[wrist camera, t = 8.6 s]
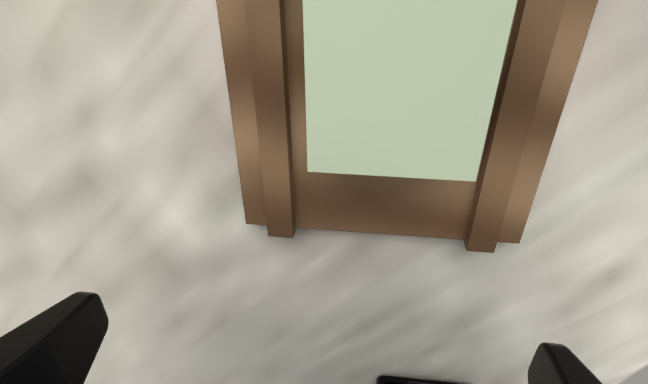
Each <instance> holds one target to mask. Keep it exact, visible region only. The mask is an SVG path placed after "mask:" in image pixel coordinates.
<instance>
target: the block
mask: <svg viewBox="0 0 648 384" xmlns="http://www.w3.org/2000/svg"><path fill="white" fill-rule="evenodd" d="M516 3H517V0H303V29H304V64H305V99H306V133H307V168H308V172H321V173H338V174H355V175H372V176H389V177H406V178H423V179H440V180H457V181H474V182H476V178H477V174H478V170H479V165H480V161H481V156H482V152H483V148H484V143H485V139H486V135H487V130H488V126H489V121H490V117H491V113H492V108H493V104H494V100H495V95H496V91H497V86H498V82H499V78H500V73H501V69H502V65H503V60H504V56H505V52H506V47H507V43H508V38H509V34H510V30H511V25H512V21H513V17H514V12H515V8H516Z"/></svg>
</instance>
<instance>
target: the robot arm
mask: <svg viewBox="0 0 648 384" xmlns="http://www.w3.org/2000/svg"><path fill="white" fill-rule="evenodd" d="M108 323H109V322H108V316H107V314H106V311H105V309H104V306H103V303H102V301H101V298H100V296H99V295H98V294H96V293H90V292H76V293H74V294H72V295H70V296H69V297H67V298H65V299H64V300H62V301H60V302H59V303H57V304H55V305H54V306H52V307H50V308H49V309H47V310H45V311H44V312H42V313H40V314H39V315H37V316H35V317H34V318H32V319H30V320H29V321H27V322H25V323H23V324H22V325H20V326H18V327H17V328H15V329H13V330H12V331H10V332H8V333H7V334H5V335H3V336H2V337H0V384H84V382H85V379H86V377H87V375H88V373H89V370H90V368H91V366H92V363H93V361H94V359H95V357H96V354H97V352H98V350H99V348H100V345H101V343H102V341H103V339H104V336H105V334H106V332H107V329H108ZM528 383H529V384H602V383H601V382H600V381H599V380H598V379H597V377H596V376H595V375H594V374H593V373H592V372H591V371H590V370H589V369H588V368H587V367H586V366H585V365H584V364H583V363H582V362H581V361H580V360H579V359H578V358H577V357H576V356H575V355H574V354H573V353H572V352H571V351H570V350H569V349H568V348H567V347H566V346H564V345H562V344H555V343H541V344H540V345H539V346H538V348H537V351H536V353H535V355H534V357H533V360H532V362H531V364H530V366H529V369H528ZM376 384H457V383H448V382H438V381H429V380H420V379H410V378H401V377H391V376H379V377H378V378H377V381H376Z"/></svg>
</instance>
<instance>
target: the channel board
mask: <svg viewBox="0 0 648 384" xmlns="http://www.w3.org/2000/svg"><path fill="white" fill-rule="evenodd" d="M597 2H598V0H517V3H516V8H515V12H514V17H513V21H512V25H511V30H510V34H509V38H508V43H507V47H506V52H505V56H504V60H503V65H502V69H501V73H500V78H499V82H498V86H497V91H496V95H495V100H494V104H493V108H492V113H491V117H490V121H489V126H488V130H487V135H486V139H485V143H484V148H483V152H482V156H481V161H480V165H479V170H478V174H477V178H476V182H474V181H457V180H440V179H423V178H406V177H389V176H372V175H355V174H338V173H321V172H308V168H307V133H306V99H305V64H304V29H303V0H216V3H217V10H218V18H219V25H220V33H221V40H222V47H223V55H224V62H225V70H226V77H227V85H228V92H229V100H230V107H231V115H232V122H233V130H234V137H235V144H236V152H237V159H238V167H239V174H240V182H241V189H242V197H243V204H244V212H245V219H246V224H255V225H267V230H268V236H275V237H288V238H293V236H294V232H295V229H296V227H297V228H311V229H325V230H338V231H352V232H366V233H380V234H394V235H408V236H422V237H436V238H450V239H464V242H465V246H466V250H467V251H477V252H490V253H494V251H495V247H496V244H497V242H506V243H520V240H521V236H522V233H523V230H524V227H525V224H526V221H527V218H528V215H529V212H530V209H531V206H532V203H533V199H534V196H535V193H536V190H537V187H538V184H539V181H540V178H541V175H542V172H543V169H544V166H545V163H546V159H547V156H548V153H549V150H550V147H551V144H552V141H553V138H554V135H555V132H556V129H557V126H558V122H559V119H560V116H561V113H562V110H563V107H564V104H565V101H566V98H567V95H568V92H569V89H570V85H571V82H572V79H573V76H574V73H575V70H576V67H577V64H578V61H579V58H580V55H581V52H582V49H583V45H584V42H585V39H586V36H587V33H588V30H589V27H590V24H591V21H592V18H593V15H594V12H595V8H596V5H597Z"/></svg>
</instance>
